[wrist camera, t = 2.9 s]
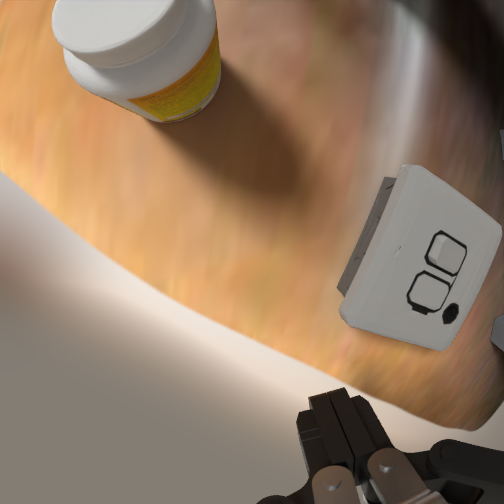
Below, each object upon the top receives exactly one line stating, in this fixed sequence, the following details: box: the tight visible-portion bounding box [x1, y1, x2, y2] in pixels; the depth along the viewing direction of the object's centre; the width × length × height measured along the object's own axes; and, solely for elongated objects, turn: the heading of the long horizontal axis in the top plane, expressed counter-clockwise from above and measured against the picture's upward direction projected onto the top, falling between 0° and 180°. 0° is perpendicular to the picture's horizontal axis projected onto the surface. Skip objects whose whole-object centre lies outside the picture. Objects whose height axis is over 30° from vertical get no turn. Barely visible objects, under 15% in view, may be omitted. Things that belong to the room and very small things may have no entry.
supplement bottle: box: [52, 0, 221, 123], centre depth 10 cm, size 6×6×10 cm
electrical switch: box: [337, 164, 502, 351], centre depth 17 cm, size 9×5×9 cm
